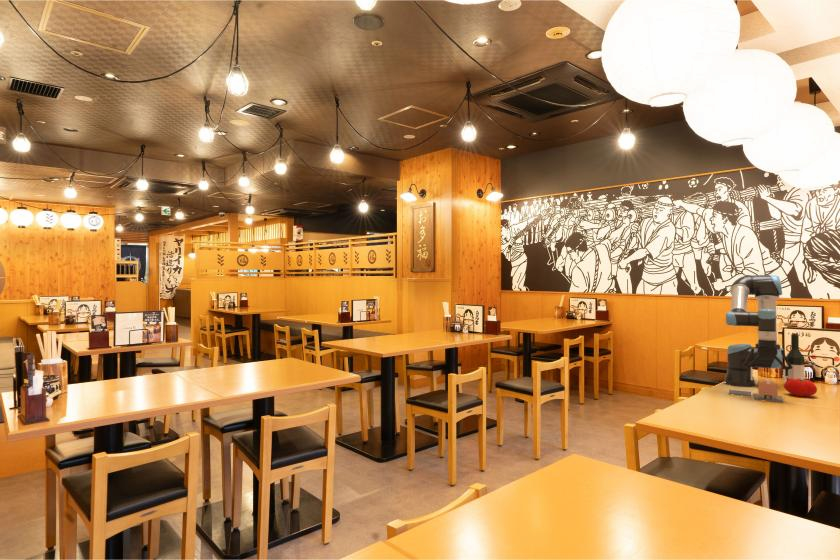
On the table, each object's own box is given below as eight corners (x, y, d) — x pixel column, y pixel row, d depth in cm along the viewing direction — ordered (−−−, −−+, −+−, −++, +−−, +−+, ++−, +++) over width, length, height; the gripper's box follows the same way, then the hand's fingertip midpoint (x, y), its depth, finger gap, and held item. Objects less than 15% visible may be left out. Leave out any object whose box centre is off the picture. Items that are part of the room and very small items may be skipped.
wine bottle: (808, 387, 278) (807, 334, 278) (793, 387, 278) (792, 334, 278) (797, 384, 286) (796, 332, 286) (782, 384, 286) (782, 332, 286)
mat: (728, 390, 270) (728, 389, 270) (750, 392, 265) (750, 391, 265) (728, 394, 262) (728, 393, 262) (751, 396, 257) (751, 395, 257)
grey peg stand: (753, 395, 260) (753, 381, 260) (781, 397, 253) (781, 384, 253) (754, 399, 249) (754, 386, 249) (783, 402, 243) (783, 388, 243)
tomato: (819, 395, 258) (819, 378, 258) (815, 399, 249) (815, 382, 249) (787, 391, 268) (787, 375, 268) (782, 395, 259) (782, 378, 259)
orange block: (758, 391, 256) (758, 378, 257) (776, 393, 252) (776, 379, 252) (759, 394, 250) (759, 380, 250) (777, 396, 246) (777, 382, 246)
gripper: (738, 338, 255) (738, 379, 255) (798, 341, 242) (799, 384, 241) (738, 337, 261) (738, 377, 261) (797, 340, 248) (797, 382, 247)
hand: (767, 381), depth 251 cm, fingers open, 13 cm apart
